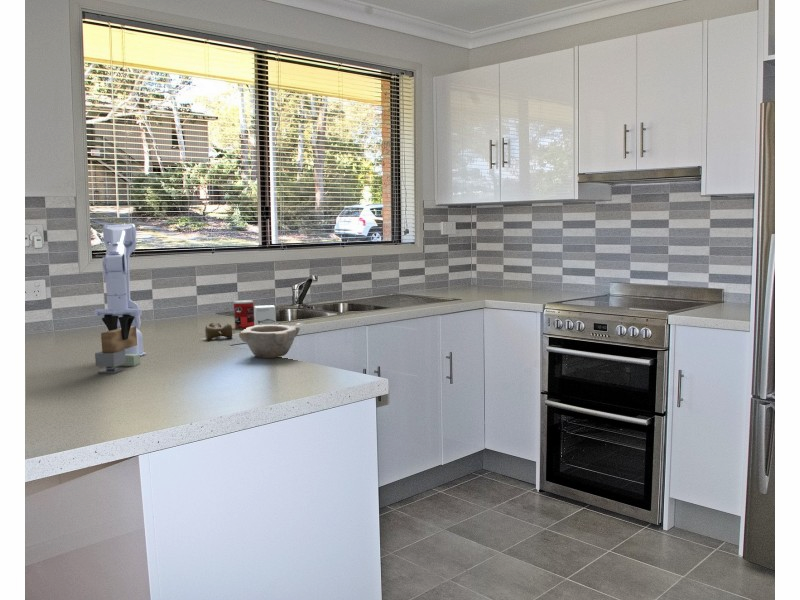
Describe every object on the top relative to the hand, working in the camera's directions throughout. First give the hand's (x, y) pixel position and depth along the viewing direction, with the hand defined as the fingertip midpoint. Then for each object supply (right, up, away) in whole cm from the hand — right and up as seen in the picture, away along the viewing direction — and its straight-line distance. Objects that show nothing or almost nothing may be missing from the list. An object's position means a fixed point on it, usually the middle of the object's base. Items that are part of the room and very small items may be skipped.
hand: (119, 339), depth 216 cm
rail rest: (+1, -8, +5) cm, 10 cm away
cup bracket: (-1, -9, -4) cm, 10 cm away
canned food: (+20, 0, +80) cm, 83 cm away
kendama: (+16, -3, +55) cm, 57 cm away
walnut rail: (0, -3, 0) cm, 3 cm away
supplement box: (+36, -3, +46) cm, 58 cm away
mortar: (+43, -6, +15) cm, 46 cm away
